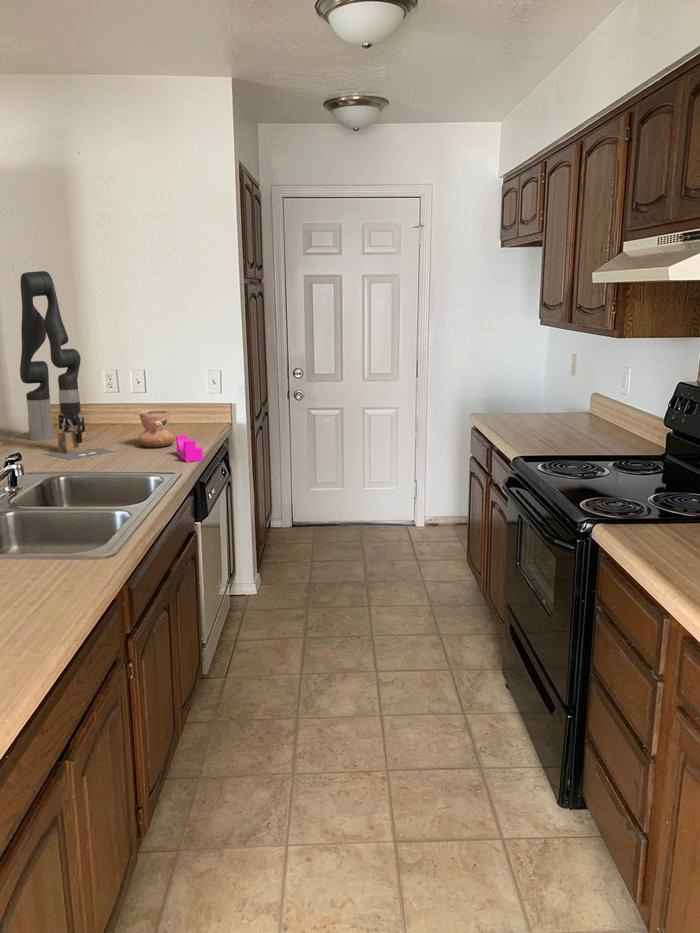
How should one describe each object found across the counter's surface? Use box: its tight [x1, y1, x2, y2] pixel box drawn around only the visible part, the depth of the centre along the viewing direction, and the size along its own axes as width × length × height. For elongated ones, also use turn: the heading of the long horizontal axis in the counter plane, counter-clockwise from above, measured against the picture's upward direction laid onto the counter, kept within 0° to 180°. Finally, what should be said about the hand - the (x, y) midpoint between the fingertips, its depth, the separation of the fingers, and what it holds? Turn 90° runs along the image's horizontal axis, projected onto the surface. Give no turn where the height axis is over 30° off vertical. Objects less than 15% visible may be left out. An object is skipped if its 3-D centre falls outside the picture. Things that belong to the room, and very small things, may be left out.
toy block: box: [175, 434, 204, 463], centre depth 280 cm, size 15×6×8 cm, turn 25°
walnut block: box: [57, 429, 88, 454], centre depth 292 cm, size 6×9×8 cm, turn 143°
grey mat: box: [44, 447, 116, 461], centre depth 290 cm, size 17×20×1 cm
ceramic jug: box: [137, 409, 176, 449], centre depth 302 cm, size 18×14×14 cm
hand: (73, 441), depth 292 cm, fingers open, 8 cm apart
